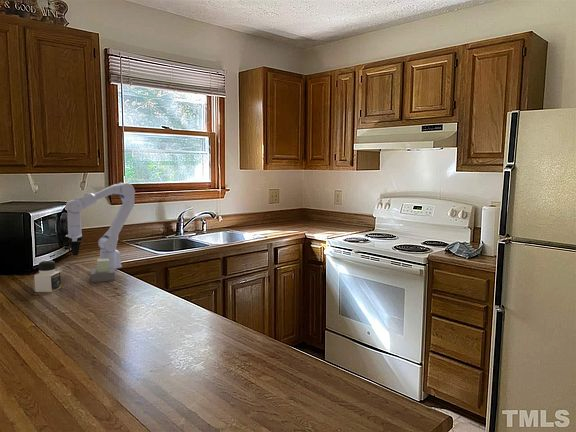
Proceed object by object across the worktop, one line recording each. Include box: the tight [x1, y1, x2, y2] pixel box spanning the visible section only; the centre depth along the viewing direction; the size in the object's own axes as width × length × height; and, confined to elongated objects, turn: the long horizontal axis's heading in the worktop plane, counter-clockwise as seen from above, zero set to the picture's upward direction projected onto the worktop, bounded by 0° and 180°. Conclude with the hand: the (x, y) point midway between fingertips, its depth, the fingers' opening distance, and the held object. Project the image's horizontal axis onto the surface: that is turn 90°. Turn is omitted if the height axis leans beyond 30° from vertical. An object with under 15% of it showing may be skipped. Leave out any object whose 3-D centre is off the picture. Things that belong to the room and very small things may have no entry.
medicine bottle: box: [33, 260, 62, 293], centre depth 182 cm, size 7×7×12 cm
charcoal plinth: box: [90, 267, 116, 283], centre depth 202 cm, size 10×10×4 cm
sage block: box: [96, 258, 110, 272], centre depth 201 cm, size 5×5×5 cm
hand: (75, 253), depth 209 cm, fingers open, 7 cm apart
